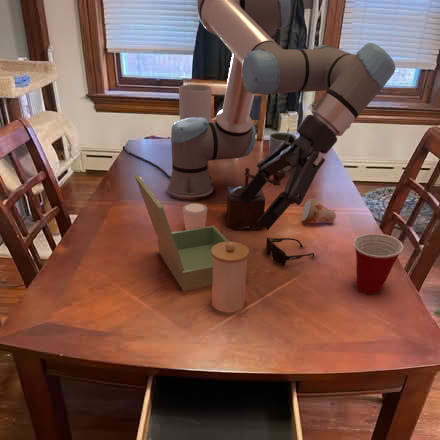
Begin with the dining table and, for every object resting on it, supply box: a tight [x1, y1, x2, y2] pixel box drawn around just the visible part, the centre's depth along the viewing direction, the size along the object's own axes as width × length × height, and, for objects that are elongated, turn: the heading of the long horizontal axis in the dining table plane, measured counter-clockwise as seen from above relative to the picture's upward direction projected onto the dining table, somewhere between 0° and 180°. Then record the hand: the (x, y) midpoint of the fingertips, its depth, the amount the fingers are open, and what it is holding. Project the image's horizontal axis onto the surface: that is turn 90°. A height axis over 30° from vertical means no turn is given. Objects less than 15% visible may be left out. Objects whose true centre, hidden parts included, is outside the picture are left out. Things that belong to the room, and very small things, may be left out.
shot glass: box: [182, 202, 208, 230], centre depth 131 cm, size 7×7×7 cm
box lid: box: [134, 174, 184, 272], centre depth 105 cm, size 16×20×1 cm
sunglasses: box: [265, 236, 315, 266], centre depth 120 cm, size 10×12×5 cm
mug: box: [301, 198, 337, 224], centre depth 137 cm, size 8×10×10 cm
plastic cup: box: [352, 233, 404, 295], centre depth 107 cm, size 11×11×12 cm
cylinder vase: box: [178, 84, 212, 123], centre depth 184 cm, size 12×12×25 cm
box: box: [157, 225, 230, 292], centre depth 114 cm, size 16×20×6 cm
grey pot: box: [268, 132, 298, 172], centre depth 175 cm, size 10×10×12 cm
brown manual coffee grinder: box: [225, 167, 287, 231], centre depth 133 cm, size 16×11×18 cm
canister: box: [211, 241, 250, 315], centre depth 98 cm, size 8×8×16 cm
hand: (251, 212), depth 93 cm, fingers open, 13 cm apart
